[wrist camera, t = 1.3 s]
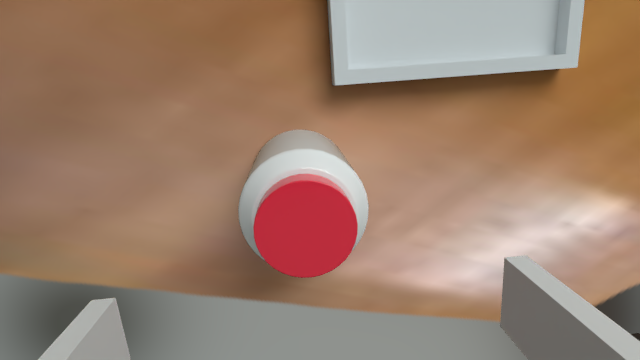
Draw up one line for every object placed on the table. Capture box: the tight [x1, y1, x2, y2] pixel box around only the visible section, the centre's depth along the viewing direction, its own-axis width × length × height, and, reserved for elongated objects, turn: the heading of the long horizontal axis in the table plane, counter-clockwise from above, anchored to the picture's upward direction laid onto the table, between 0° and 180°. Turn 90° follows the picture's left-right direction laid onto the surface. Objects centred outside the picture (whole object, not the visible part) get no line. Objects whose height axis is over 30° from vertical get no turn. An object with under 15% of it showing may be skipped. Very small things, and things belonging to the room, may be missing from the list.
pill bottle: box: [238, 130, 369, 278], centre depth 25 cm, size 8×8×11 cm
